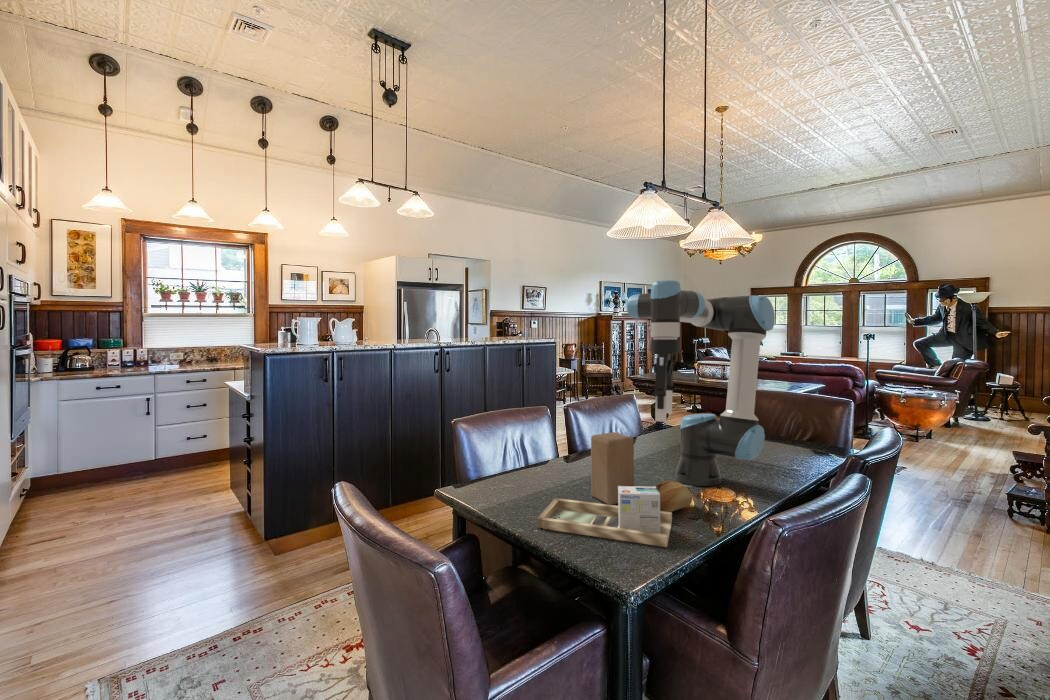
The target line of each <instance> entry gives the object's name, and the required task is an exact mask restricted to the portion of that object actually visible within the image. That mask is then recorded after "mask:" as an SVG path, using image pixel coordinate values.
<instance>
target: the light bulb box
mask: <svg viewBox="0 0 1050 700" xmlns="http://www.w3.org/2000/svg"><path fill="white" fill-rule="evenodd" d="M617 506H618V524H619V528H623V529H630V530H637V531H644V532H652V533H659V534H660V493H659V492H658V490H657V488H656V485H655V486H650V485H649V486H648V485H647V486H641V485H640V486H639V485H638V486H636V485H635V486H618V503H617Z"/></svg>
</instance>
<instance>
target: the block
mask: <svg viewBox="0 0 1050 700" xmlns="http://www.w3.org/2000/svg"><path fill="white" fill-rule="evenodd" d="M634 443H635V441H634V438H633V437H631V436H629V435H625V434H622V433H619V432H615V431H612V432H606V433H599V434H593V435H591V436H590V463H591V464H590V474H591V475H590V481H591V482H590V483H591V485H590V486H591V487H590V489H591V492H590V493H591V497H594V498H595V499H597V500H599V501H600V502H603V504H608V505H616V504H617V505H618V486H634V485H635V479H634V476H635V475H634V474H635V473H634V471H635V468H634V467H635V465H634V463H635V462H634V461H635V457H634V454H635V445H634Z"/></svg>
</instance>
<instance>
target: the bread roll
mask: <svg viewBox="0 0 1050 700" xmlns="http://www.w3.org/2000/svg"><path fill="white" fill-rule="evenodd" d="M655 486H656V488H657V490H658V492H659V493H660V511H665V512H672V513H673V512H676V511H678V510H681V509H684V508H687V507H690V505H691V504H692V502H693V496H692V493H691V491H690V490H689V488H688V487H687V486H686V485H683V483H681V482H677V480H676V481H675V480H673V481H672V480H665V481H664V480H663V481H661V482H659V483H657V484H656V485H655Z"/></svg>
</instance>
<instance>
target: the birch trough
mask: <svg viewBox="0 0 1050 700" xmlns="http://www.w3.org/2000/svg"><path fill="white" fill-rule="evenodd" d="M559 508H560V509H562V510H559ZM565 509H566V510H565ZM557 510H558V511H557ZM559 511H560V512H559ZM557 513H558V514H557ZM556 514H557V515H556ZM559 514H560V515H559ZM553 515H556V516H554V518H556V519H553V518H551V517H552V516H553ZM559 517H560V518H559ZM672 521H673V511H672V512H665V511H660V534H659V533H652V532H644V531H637V530H630V529H623V528H619V524H618V505H616V504H612V505H608V504H606V503H599V502H592V501H591V502H590V501H582V500H574V499H565V498H557V497H555V498H554V499H553V500H552V501H551V502H550V503H549V504H548V506H547V507H546V508H545V509H544V510H543V511H542V512H541V514H540V515H539V516H538V517H537V518H536V529H541V528H543V530H548V529H549V530H550V531H557V532H563V533H569V534H575V535H576V534H577V535H583V536H587V537H588V536H591V537H595V538H596V537H597V538H603V539H609V540H610V539H611V540H615V541H623V542H629V543H635V544H643V545H649V546H650V545H651V546H657V547H664V548H668V545H669V544H668V543H669V539H670V533H671V527H672Z"/></svg>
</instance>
